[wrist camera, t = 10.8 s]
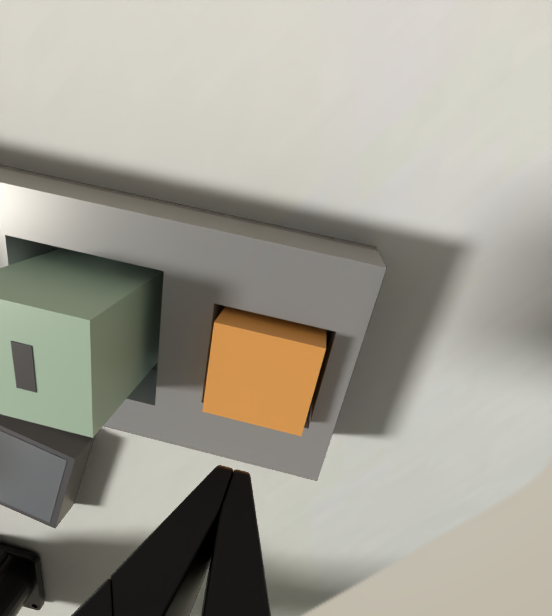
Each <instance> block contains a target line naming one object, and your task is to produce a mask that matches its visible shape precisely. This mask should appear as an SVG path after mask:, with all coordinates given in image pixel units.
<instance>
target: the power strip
mask: <svg viewBox="0 0 552 616" xmlns="http://www.w3.org/2000/svg"><path fill="white" fill-rule="evenodd" d="M60 248H64V249H69V250H73V251H78V252H82V253H86V254H91V255H95V256H99V257H104V258H108V259H112V260H117V261H121V262H126V263H130V264H134V265H139V266H143V267H147V268H152V269H156V270H160V271H164V276H163V291H162V307H161V322H160V338H159V353H158V362H157V363H156V364H155V366H154V367H153V368H152V369H151V370H150V371H149V373H148V374H147V375H146V376H145V377H144V379H143V380H142V381H141V382H140V383H139V384H138V386H137V387H136V388H135V389H134V390H133V391H132V393H131V394H130V395H129V396H128V397H127V398H126V400H125V401H124V402H123V403H122V404H121V406H120V407H119V408H118V409H117V410H116V411H115V413H114V414H113V415H112V416H111V417H110V418H109V420H108V421H107V422H106V423H105V424H104V425H103V426H104V427H108V428H112V429H116V430H120V431H124V432H128V433H132V434H136V435H140V436H143V437H147V438H151V439H155V440H159V441H163V442H167V443H171V444H175V445H179V446H182V447H186V448H190V449H194V450H198V451H202V452H206V453H210V454H214V455H218V456H221V457H225V458H229V459H233V460H237V461H241V462H245V463H249V464H253V465H257V466H261V467H264V468H268V469H272V470H276V471H280V472H284V473H288V474H292V475H296V476H300V477H303V478H307V479H311V480H315V481H317V480H318V477H319V474H320V470H321V467H322V464H323V461H324V458H325V455H326V452H327V449H328V446H329V443H330V440H331V437H332V434H333V431H334V428H335V425H336V421H337V418H338V415H339V412H340V409H341V406H342V403H343V400H344V397H345V394H346V391H347V388H348V385H349V382H350V379H351V376H352V372H353V369H354V366H355V363H356V360H357V357H358V354H359V351H360V348H361V345H362V342H363V339H364V336H365V333H366V330H367V327H368V323H369V320H370V317H371V314H372V311H373V308H374V305H375V302H376V299H377V296H378V293H379V290H380V287H381V284H382V281H383V277H384V274H385V271H386V268H387V267H386V265H385V263H384V262H383V260H382V258H381V256H380V254H379V252H378V250H377V248H376V247H372V246H368V245H363V244H359V243H354V242H349V241H345V240H340V239H336V238H331V237H326V236H322V235H317V234H313V233H308V232H304V231H299V230H294V229H290V228H285V227H281V226H276V225H271V224H267V223H262V222H258V221H253V220H249V219H244V218H239V217H235V216H230V215H226V214H221V213H216V212H212V211H207V210H203V209H198V208H194V207H189V206H184V205H180V204H175V203H171V202H166V201H161V200H157V199H152V198H148V197H143V196H139V195H134V194H129V193H125V192H120V191H116V190H111V189H106V188H102V187H97V186H93V185H88V184H84V183H79V182H74V181H70V180H65V179H61V178H56V177H51V176H47V175H42V174H38V173H33V172H29V171H24V170H19V169H15V168H10V167H6V166H1V165H0V268H2V267H5V266H8V265H11V264H15V263H18V262H21V261H24V260H27V259H30V258H33V257H36V256H39V255H42V254H45V253H48V252H51V251H54V250H57V249H60ZM225 306H227V307H232V308H236V309H240V310H244V311H249V312H253V313H257V314H262V315H266V316H270V317H275V318H279V319H283V320H287V321H292V322H296V323H300V324H305V325H309V326H313V327H318V328H322V329H326V330H327V332H326V351H325V354H324V358H323V361H322V365H321V368H320V372H319V376H318V379H317V383H316V386H315V390H314V393H313V397H312V400H311V404H310V407H309V411H308V415H307V418H306V422H305V425H304V429H303V432H302V436H298V435H294V434H290V433H286V432H282V431H278V430H274V429H270V428H266V427H262V426H258V425H254V424H250V423H246V422H242V421H238V420H234V419H230V418H226V417H222V416H218V415H214V414H210V413H206V412H202V410H203V403H204V395H205V387H206V380H207V372H208V365H209V357H210V350H211V342H212V334H213V327H214V322H215V320H216V319H217V318H218V316H219V315H220V313H221V312H222V310H223V309H224V308H225Z"/></svg>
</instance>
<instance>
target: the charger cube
mask: <svg viewBox="0 0 552 616" xmlns="http://www.w3.org/2000/svg"><path fill="white" fill-rule="evenodd" d="M163 276H164V271H160V270H156V269H152V268H147V267H143V266H139V265H134V264H130V263H126V262H121V261H117V260H112V259H108V258H104V257H99V256H95V255H91V254H86V253H82V252H78V251H73V250H69V249H64V248H60V249H57V250H54V251H51V252H48V253H45V254H42V255H39V256H36V257H33V258H30V259H27V260H24V261H21V262H18V263H15V264H11V265H8V266H5V267H2V268H0V414H2V415H6V416H9V417H13V418H17V419H21V420H25V421H29V422H33V423H37V424H41V425H44V426H48V427H52V428H56V429H60V430H64V431H68V432H72V433H76V434H80V435H83V436H87V437H91V438H93V437H94V436H95V435H96V434H97V433H98V431H99V430H100V429H101V428H102V427H103V425H104V424H105V423H106V422H107V421H108V420H109V418H110V417H111V416H112V415H113V414H114V413H115V411H116V410H117V409H118V408H119V407H120V406H121V404H122V403H123V402H124V401H125V400H126V398H127V397H128V396H129V395H130V394H131V393H132V391H133V390H134V389H135V388H136V387H137V386H138V384H139V383H140V382H141V381H142V380H143V379H144V377H145V376H146V375H147V374H148V373H149V371H150V370H151V369H152V368H153V367H154V366H155V364H156V363H157V362H158V353H159V338H160V322H161V307H162V291H163Z"/></svg>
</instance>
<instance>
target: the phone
mask: <svg viewBox="0 0 552 616" xmlns="http://www.w3.org/2000/svg"><path fill="white" fill-rule="evenodd" d="M93 440H94V437H93V438H91V437H87V436H83V435H80V434H76V433H72V432H68V431H64V430H60V429H56V428H52V427H48V426H44V425H41V424H37V423H33V422H29V421H25V420H21V419H17V418H13V417H9V416H6V415H2V414H0V504H1V505H3V506H5V507H8V508H10V509H12V510H14V511H17V512H19V513H21V514H24V515H26V516H28V517H30V518H33V519H35V520H37V521H39V522H42V523H44V524H46V525H49V526H51V527H53V528H56V527H57V526H58V524H59V523H60V522H61V520H62V519H63V518H64V516H65V515H66V514H67V512H68V511H69V510H70V508H71V507H72V506H73V504H74V502H75V499H76V496H77V492H78V489H79V486H80V483H81V479H82V476H83V473H84V469H85V466H86V463H87V459H88V456H89V453H90V450H91V446H92V443H93Z"/></svg>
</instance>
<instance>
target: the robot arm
mask: <svg viewBox="0 0 552 616" xmlns="http://www.w3.org/2000/svg"><path fill="white" fill-rule="evenodd" d="M210 560H211V561H210ZM209 564H210V567H209ZM208 567H209V572H208V578H207V583H206V589H205V595H204V601H203V607H202V613H201V616H271V613H270V606H269V599H268V593H267V586H266V579H265V572H264V565H263V559H262V552H261V545H260V538H259V532H258V525H257V518H256V511H255V504H254V498H253V491H252V484H251V477H250V474H249V473H248V472H245V471H241V470H234V471H233V469H232V468H229V467H225V466H221V465H219V466H217V467H215V468H214V470H213V471H212V472H211V473H210V474H209V475H208V476H207V477H206V478H205V479H204V480H203V481H202V482H201V483H200V484H199V485H198V486H197V487H196V488H195V489H194V490H193V491H192V492H191V493H190V494H189V495H188V496H187V497H186V499H185V500H184V501H183V502H182V503H181V504H180V505H179V506H178V507H177V508H176V509H175V510H174V511H173V512H172V513H171V514H170V515H169V516H168V517H167V518H166V519H165V520H164V521H163V522H162V523H161V524H160V525H159V526H158V528H157V529H156V530H155V531H154V532H153V533H152V534H151V535H150V536H149V537H148V538H147V539H146V540H145V541H144V542H143V543H142V544H141V545H140V546H139V547H138V548H137V549H136V550H135V551H134V552H133V553H132V554H131V555H130V557H129V558H128V559H127V560H126V561H125V562H124V563H123V564H122V565H121V566H120V567H119V568H118V569H117V570H116V571H115V572H114V573H113V574H112V575H111V580H110V579H107V580H106V581H105V582H104V583H103V584H102V585H101V586H100V587H99V588H98V589H97V590H96V591H95V593H94V594H93V595H92V596H91V597H90V598H89V599H88V600H87V601H86V602H85V603H83V604H82V605H81V606H80V607H79V608H78V609H77V610H76V611H75V612H74V613H73V614H72V615H71V616H189V615H190V613H191V610H192V608H193V605H194V603H195V600H196V598H197V595H198V593H199V590H200V587H201V585H202V582H203V580H204V577H205V575H206V572H207V569H208ZM43 604H44V595H43V587H42V579H41V571H40V563H39V558H38V556H37V555H35V554H34V553H31V552H27V551H24V550H20V549H16V548H13V547H9V546H6V545H2V544H0V616H16V615H17V614H18V612H19V611H20V609H21V608H22V606H24V607H28V608H31V609H34V610H40V609H41V607H42V606H43Z"/></svg>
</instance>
